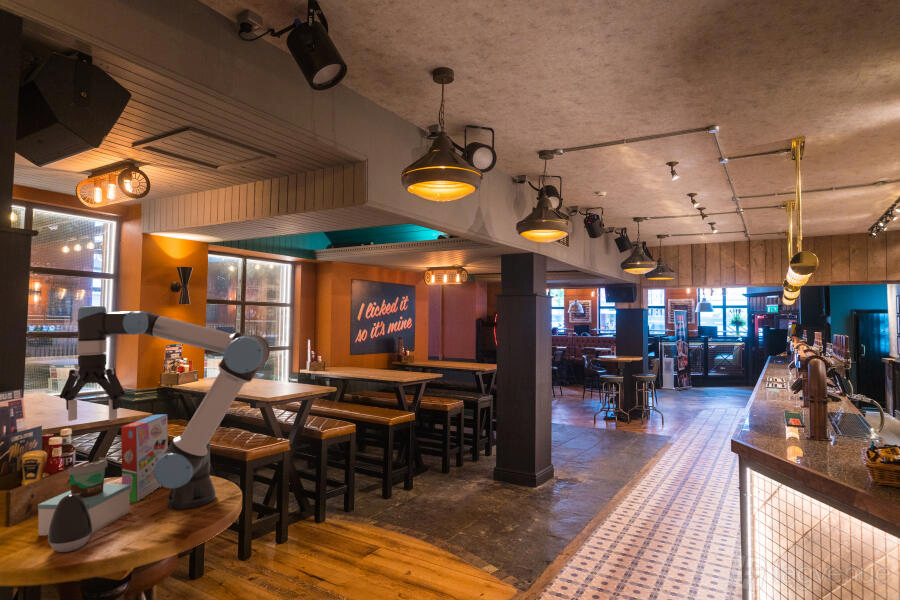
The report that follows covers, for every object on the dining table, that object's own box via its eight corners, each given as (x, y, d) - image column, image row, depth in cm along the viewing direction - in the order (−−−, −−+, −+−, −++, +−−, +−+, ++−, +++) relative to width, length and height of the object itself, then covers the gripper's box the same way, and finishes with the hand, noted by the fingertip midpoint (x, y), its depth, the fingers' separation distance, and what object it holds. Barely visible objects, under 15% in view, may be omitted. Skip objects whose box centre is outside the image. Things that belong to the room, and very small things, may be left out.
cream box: (129, 512, 173) (129, 488, 173) (88, 535, 155) (88, 509, 155) (84, 512, 174) (84, 488, 174) (38, 535, 156) (38, 508, 156)
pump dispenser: (101, 539, 152) (100, 488, 152) (74, 556, 141) (73, 501, 142) (67, 540, 152) (67, 488, 153) (38, 556, 142) (38, 501, 142)
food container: (84, 501, 158) (84, 468, 158) (67, 500, 159) (67, 468, 159) (117, 487, 170) (117, 457, 170) (101, 487, 171) (100, 456, 171)
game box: (155, 483, 203) (154, 414, 203) (169, 483, 203) (168, 414, 203) (121, 503, 182) (120, 426, 182) (136, 502, 182) (136, 425, 182)
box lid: (130, 487, 173) (130, 484, 173) (89, 508, 155) (89, 504, 155) (84, 487, 174) (84, 484, 174) (37, 508, 156) (37, 504, 156)
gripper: (137, 352, 168) (137, 417, 168) (64, 353, 170) (65, 417, 169) (121, 354, 161) (121, 422, 160) (45, 355, 162) (46, 422, 162)
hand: (92, 420), depth 165 cm, fingers open, 13 cm apart
